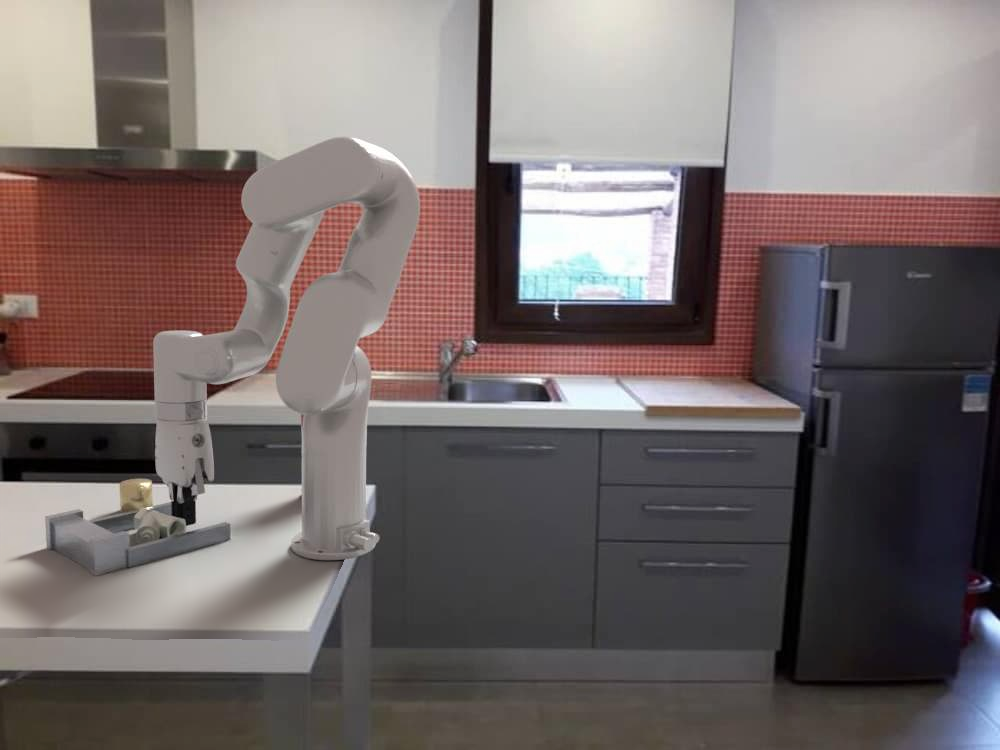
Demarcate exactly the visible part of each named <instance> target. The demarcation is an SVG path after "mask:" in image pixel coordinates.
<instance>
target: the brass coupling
mask: <svg viewBox="0 0 1000 750" xmlns="http://www.w3.org/2000/svg"><path fill="white" fill-rule="evenodd" d="M119 502H120V504H119V505H120V513H125V512H129V511H134V510H138V509H142V508H147V507H151V506H154V503H153V481H152V479H148V478H130V479H126V480H122V481H121V482H119Z"/></svg>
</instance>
